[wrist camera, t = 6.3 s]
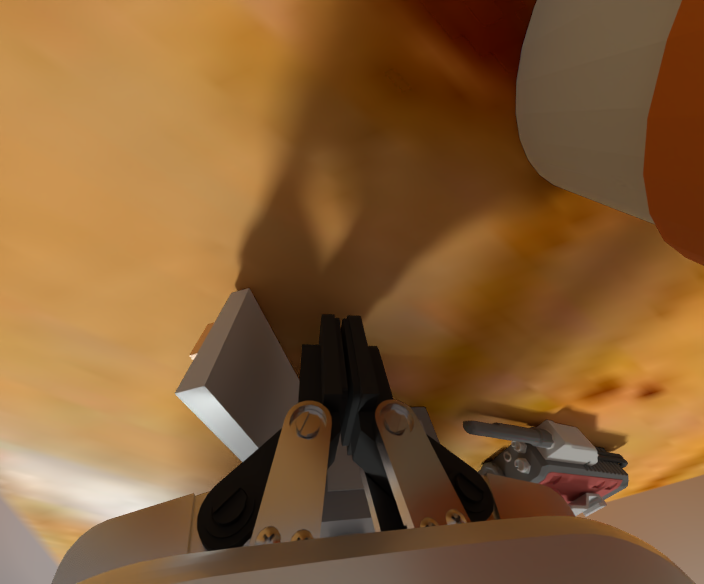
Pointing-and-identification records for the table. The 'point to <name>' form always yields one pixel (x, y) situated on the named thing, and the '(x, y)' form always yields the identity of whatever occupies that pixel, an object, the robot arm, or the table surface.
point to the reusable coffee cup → (619, 108)
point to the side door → (240, 377)
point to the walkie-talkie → (556, 462)
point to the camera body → (353, 491)
